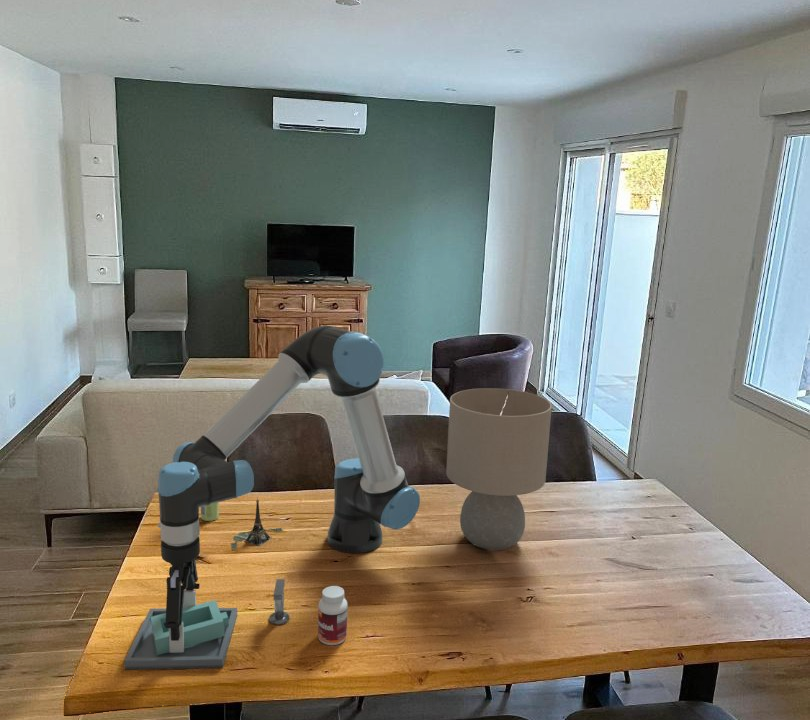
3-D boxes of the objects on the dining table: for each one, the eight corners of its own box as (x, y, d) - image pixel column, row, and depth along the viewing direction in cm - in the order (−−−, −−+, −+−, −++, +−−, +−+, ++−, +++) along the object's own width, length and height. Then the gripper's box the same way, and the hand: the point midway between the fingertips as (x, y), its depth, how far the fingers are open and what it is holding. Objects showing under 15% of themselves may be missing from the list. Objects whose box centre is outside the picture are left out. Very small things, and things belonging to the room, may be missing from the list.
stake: (290, 610, 159) (290, 579, 157) (288, 627, 153) (287, 594, 151) (271, 611, 158) (270, 579, 157) (267, 627, 152) (267, 594, 150)
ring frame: (223, 612, 154) (222, 598, 153) (232, 633, 146) (230, 619, 145) (152, 631, 148) (150, 617, 147) (157, 655, 140) (155, 640, 139)
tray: (237, 615, 156) (237, 607, 156) (222, 668, 139) (222, 659, 138) (150, 616, 155) (150, 608, 154) (124, 669, 137) (124, 660, 137)
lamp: (495, 576, 176) (505, 422, 167) (423, 537, 196) (429, 397, 187) (559, 545, 194) (572, 404, 185) (487, 512, 213) (496, 383, 204)
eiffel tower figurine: (282, 529, 199) (282, 485, 196) (288, 545, 190) (288, 500, 187) (228, 535, 194) (228, 490, 191) (232, 552, 185) (231, 506, 182)
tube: (219, 512, 207) (217, 450, 202) (222, 519, 202) (220, 456, 198) (199, 515, 204) (197, 453, 200) (202, 523, 200) (200, 458, 195)
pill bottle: (311, 637, 149) (312, 591, 147) (332, 625, 154) (333, 580, 151) (332, 650, 145) (332, 603, 143) (352, 637, 150) (353, 591, 148)
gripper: (175, 512, 153) (178, 603, 157) (144, 567, 130) (149, 670, 135) (210, 513, 153) (212, 602, 158) (185, 567, 131) (189, 670, 135)
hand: (183, 634), depth 146 cm, fingers closed on ring frame, 11 cm apart
